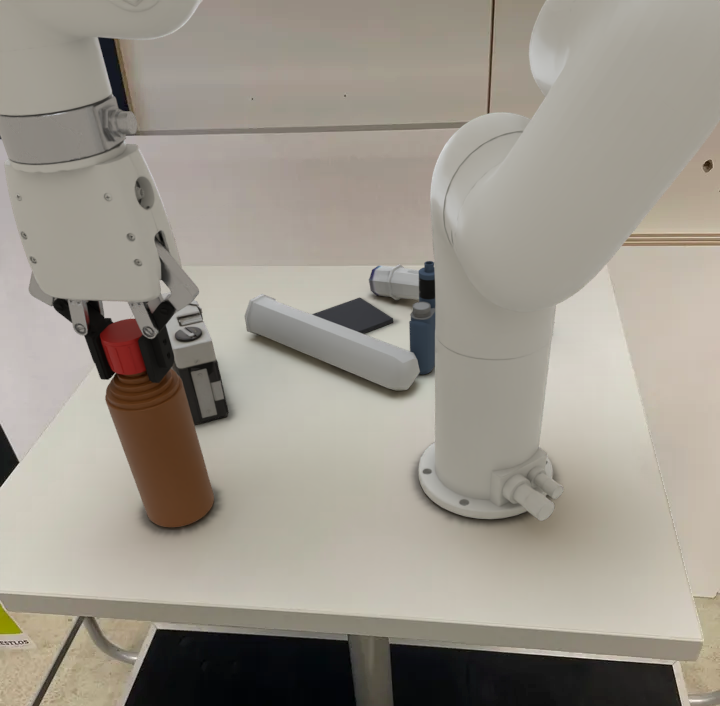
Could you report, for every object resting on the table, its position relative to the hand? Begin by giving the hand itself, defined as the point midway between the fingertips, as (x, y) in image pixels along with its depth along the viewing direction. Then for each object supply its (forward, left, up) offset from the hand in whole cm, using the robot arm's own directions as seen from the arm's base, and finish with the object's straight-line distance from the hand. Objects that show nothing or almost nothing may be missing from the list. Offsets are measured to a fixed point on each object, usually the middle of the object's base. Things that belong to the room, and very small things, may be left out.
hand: (137, 370), depth 59 cm
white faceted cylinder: (+14, -44, -15) cm, 49 cm away
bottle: (0, 0, -15) cm, 15 cm away
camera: (+19, -8, -15) cm, 25 cm away
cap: (0, 0, +1) cm, 1 cm away
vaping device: (+6, -34, -15) cm, 38 cm away
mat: (+21, -33, -15) cm, 42 cm away
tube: (+14, -26, -15) cm, 33 cm away
